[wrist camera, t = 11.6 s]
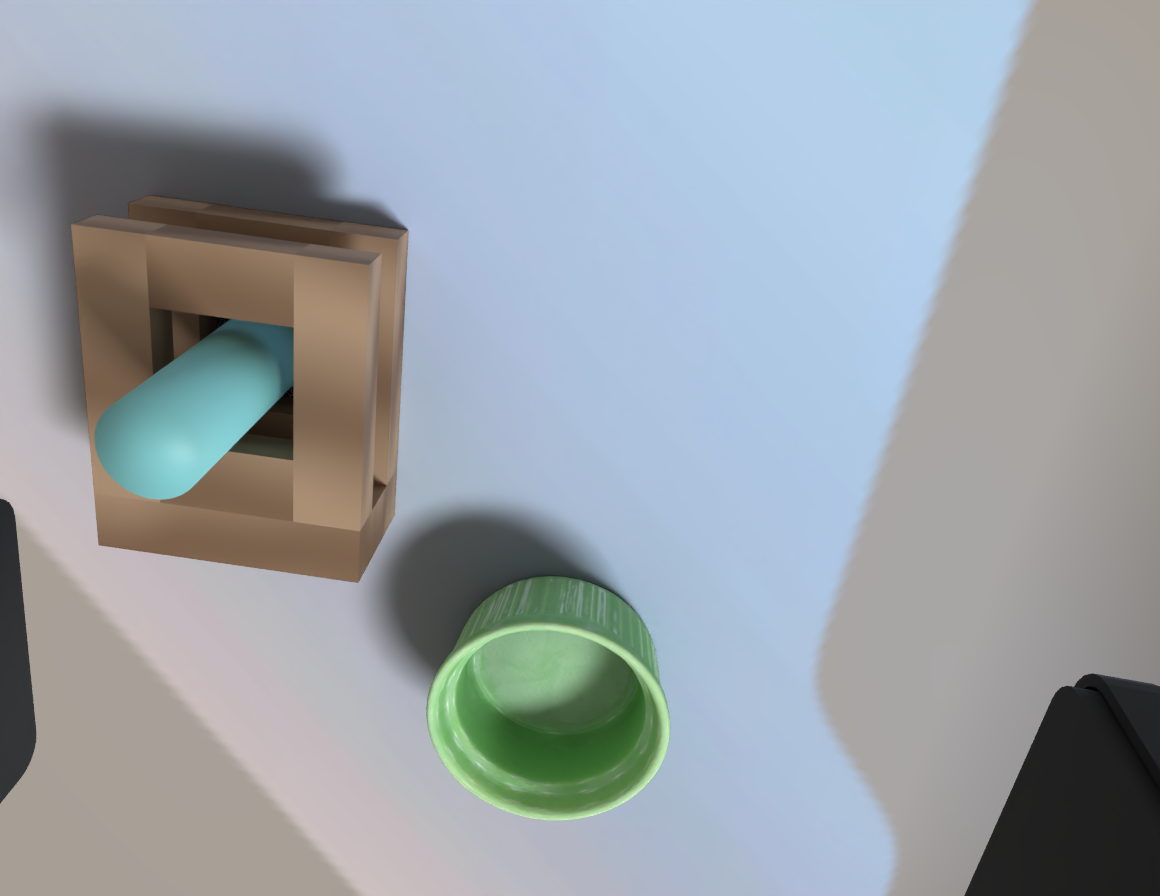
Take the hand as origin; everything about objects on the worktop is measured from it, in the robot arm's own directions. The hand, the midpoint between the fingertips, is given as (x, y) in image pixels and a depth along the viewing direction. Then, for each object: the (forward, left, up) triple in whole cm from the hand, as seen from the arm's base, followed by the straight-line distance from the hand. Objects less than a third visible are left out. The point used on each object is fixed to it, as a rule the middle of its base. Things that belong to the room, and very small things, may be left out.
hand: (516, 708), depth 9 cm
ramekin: (+19, 0, -27) cm, 33 cm away
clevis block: (+7, -12, -27) cm, 30 cm away
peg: (+7, -12, -27) cm, 30 cm away
